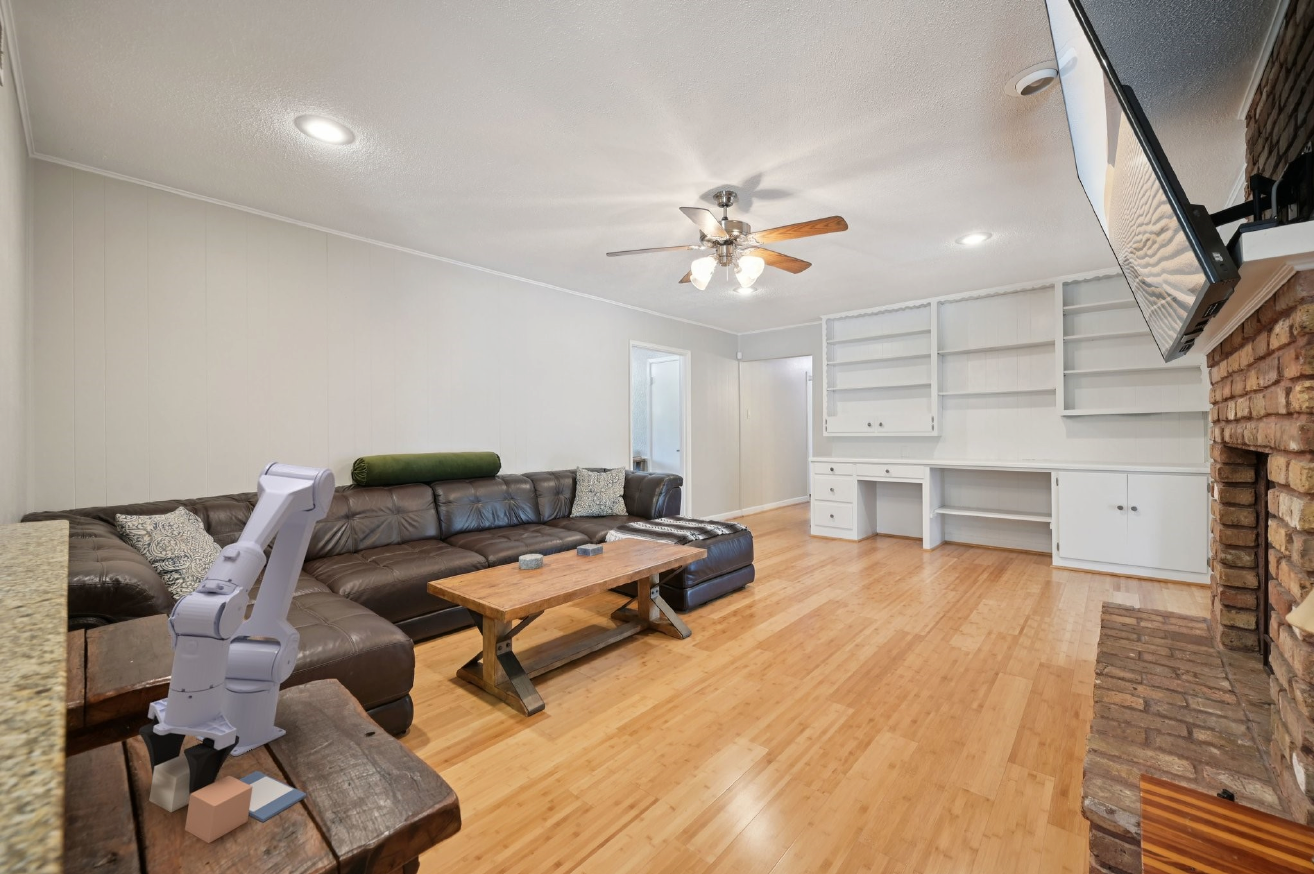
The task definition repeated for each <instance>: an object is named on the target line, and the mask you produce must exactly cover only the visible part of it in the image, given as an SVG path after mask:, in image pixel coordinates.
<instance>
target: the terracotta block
mask: <svg viewBox="0 0 1314 874" xmlns="http://www.w3.org/2000/svg"><path fill="white" fill-rule="evenodd" d="M252 788H253V787H252V786H250V785H248V784H246V783H244V782H242V781H240V780H239V779H237V778H236V777H234V776H232V775H230V774H229V775H227V776H225V777H222V778H221V779H218V780H215V782H214V783H212V784H210V785H208V786H206V787H204V788H202V789H200V790H198V791H195V792H193V793H191V794H190V800H189V804H188V807H187V813H186V821H185V826H184V827H185V828H184V831H186V832H188V833H190V834H192V835H194V836H195V837H197V838H198V839H200V840H202V841H203V842H206V843H208V844H210V843H212V842H214V841H215V840H217V839H219V838H221V837H223V836H224V835H226V834H228V833H229V832H232V831H233V830H235V829H236V828H239V827H240V826H241V825H243V824H245V823H247V822H248V820H249V815H248V814H249V807H250V801H251V794H252Z"/></svg>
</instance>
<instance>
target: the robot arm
mask: <svg viewBox="0 0 1314 874" xmlns="http://www.w3.org/2000/svg"><path fill="white" fill-rule="evenodd" d="M256 484H257V485H256V486H257V488H256V494H257V498H258V500H257V503H256V505H255V506H254V508H253V511H252V512H251V514H250V517H249V519H248V520H247V522H246V524H245V526H244V528H243V530H242V532H241V534H240V536H239V537H238V540H237V541H236V542H234V543H231V544H228V545H226V546H224V547H223V548H222V550H221V551H220V553H219V554H218V555H217V557H216V558H215V560H214V562H213V563H212V565H211V566H210V568H209V569H208V570H207V572H206V574H205V576H203V579H202V580H201V582H200V583H199V584H198V586H197V588H196V589H195V591H193V592H190V593H189V594H186V595H183V596H182V597H181V598H180V599H178V601H177V602H176V603H175V604H174V606H173V608H172V610H171V613H170V616H169V618H168V619H167V629H168V630H167V631H168V633H169V635H170V636H171V639H170V640H171V641H170V647H171V650H173V651H174V657H173V663H172V670H171V675H170V682H169V687H168V688H169V689H168V694H167V697H166V698H162V699H160V700H156V701H154V702H150V703H149V709H148V714H147V718H149V719H151V720H152V721H151V723H148V724H145V725H143V726H141V727H140V728H139V729H138V730H139V731H138V734H139V735H140V737H141V739H143V742H144V744H145V746H146V749H147V752H148V756H149V761H150V768H151V773H152V774H151V775H152V776H153V773H154V767H155V766H157V765H159V764H162V763H164V762H167V761H169V760H171V759H174V758H176V757H179V756H181V750H182V747H183V743H184V740H185V737H186V736H192V737H196V739H197V740H199V741H201V742H199V743H197V744H195V745H192V746H190V747H187V748H185V749H184V750H183V754H185V756H186V758H187V761H188V764H189V771H190V782H189V795H190V794H191V793H193V792H195V791H198V790H200V789H202V788H204V787H206V786H208V785H210V784H212V783H214V782H216V779H217V777H218V774H219V773H220V770H221V769H222V767H223V765H224V763H225V762H226V760H227V758H229V756H230V755H232V756H234V757H238V756H241V755H242V754H243V755H244V754H245V753H248V752H249V750H250V751H252V750H255V749H256V748H258V747H260V746H263V745H265V744H268V743H270V742H272V741H274V740H277V739H278V738H281V737H283V736H285V735H286V734H287V733H286V732H287V731H286V729H285V730H284V729H283V728H280V727H278V726H275V721H276V720H275V719H276V714H277V713H276V712H277V706H278V700H279V692H280V686H281V684H282V683H283V682H285V681H286V680H288V678H289V677H290V676H291V674H292V673H293V671H294V669H295V667H296V665H297V660H298V654H299V651H298V649H299V643H300V640H301V639H300V637H301V635H300V633H299V631H297V629H296V628H295V627H294V626H293V625H292V624H291V623H290V622H289V621H288V620H287V617H288V614H289V611H290V608H291V604H292V602H293V597H294V593H295V591H296V588H297V584H298V581H299V577H300V576H301V575H300V574H301V571H302V568H303V565H304V560H305V557H306V555H307V551H308V548H309V545H310V541H311V538H312V535H313V532H314V528H315V526H316V523H317V522H318V521H320V520H323V519H326V518H327V516H328V512H329V510H330V507H331V504H332V501H333V497H334V494H335V490H336V479H335V474H334V472H333V471H332V469H330V468H328V467H324V468H319V467H311V466H304V465H294V464H286V463H280V462H277V461H271V462H269V463H267V464H266V465H265V466H264V467H263V468H262V470H261V471H260V473H259V476H258V480H257V483H256ZM274 537H276V538H275V541H274V544H273V547H272V550H271V553H270V556H269V559H268V563H267V557H266V555H265V553H264V551H265V550H266V548H267V546H268V545H269V544H270V542H272V540H273V538H274ZM266 563H267V565H266ZM264 566H266V568H265V567H264ZM264 568H265V571H264V573H263V574H264V575H263V576H262V581H261V584H260V587H259V588H258V589H259V590H258V592H257V595H256V599H255V602H254V604H253V608H252V611H251V615H250V616H249V618H248V619H247V620H244V618H245V616H246V615H245V614H246V611H247V606H248V604H249V601H250V596H249V592H250V591H251V589H252V588H253V586H254V585H255V582H256V581H257V579H258V578H259V576H260V574H261V572H262V570H263V569H264ZM251 637H256V638H257V637H258V638H259V637H260V638H272V639H276V640H266V639H265V640H264V639H255V638H254V639H252V638H251ZM251 749H252V750H251ZM247 751H248V752H247Z"/></svg>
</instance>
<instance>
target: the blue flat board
mask: <svg viewBox="0 0 1314 874" xmlns="http://www.w3.org/2000/svg"><path fill="white" fill-rule="evenodd" d="M238 780H240V781H242V782H244V783H246V784H248V785H250V786H252V787H253V788H252V794H251V801H250V807H249V814H248V817H252V818H254V819H256V820H257V821H260V822H261V823H264V822H266V821H268V820H269V819H271V818H273V817H274V816H276V815H278V814H279V813H281V812H283V811H284V810H287V809H288V808H290V807H292V806H294V805H295V804H296V803H298V802H300V801H301V800H303V799H305V798H307V793H306V792H303V791H301V790H300V789H297V788H294V787H293V786H290V785H288V784H287V783H284V782H282V781H280V780H278V779H276V778H273V777H271V776H270V775H268V774H265V773H263V772H261V771H258V770H255V771H253V772H251V773H249V774H248V775H245V776H244V777H241V778H239V779H238Z"/></svg>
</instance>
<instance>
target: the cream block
mask: <svg viewBox="0 0 1314 874" xmlns="http://www.w3.org/2000/svg"><path fill="white" fill-rule="evenodd" d="M189 782H190V771H189V764H188V761H187V758H186V756H185V754H184V753H183V754H180V755H179V757H176V758H174V759H171V760H169V761H167V762H164V763H162V764H159V765H157V766H155V767H154V773H153V775H152V781H151V786H150V794H149V799H148V800H149V802H151V803H152V804H155V805H157V806H159V807H160V808H162V809H163V810H166V811H167V812H170V813H172V812H175V811H177V810H179V809H182V808H183V807H185V806H187V805H189V800H190V795H189Z"/></svg>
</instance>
